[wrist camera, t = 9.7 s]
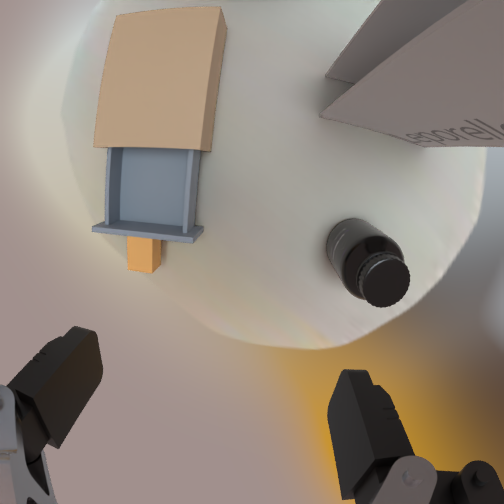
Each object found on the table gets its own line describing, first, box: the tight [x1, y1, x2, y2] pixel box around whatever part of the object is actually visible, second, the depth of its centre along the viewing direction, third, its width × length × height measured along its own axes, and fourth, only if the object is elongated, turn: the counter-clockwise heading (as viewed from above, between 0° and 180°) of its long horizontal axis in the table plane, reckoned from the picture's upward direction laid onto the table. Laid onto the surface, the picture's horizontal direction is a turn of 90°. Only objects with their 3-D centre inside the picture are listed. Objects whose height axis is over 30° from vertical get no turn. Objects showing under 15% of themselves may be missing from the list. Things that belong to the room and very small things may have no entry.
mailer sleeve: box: [93, 7, 227, 152], centre depth 28 cm, size 16×12×6 cm
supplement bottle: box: [327, 219, 410, 308], centre depth 30 cm, size 7×7×12 cm
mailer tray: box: [92, 147, 203, 273], centre depth 31 cm, size 20×12×5 cm, turn 174°
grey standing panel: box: [319, 0, 504, 147], centre depth 16 cm, size 14×6×30 cm, turn 81°
